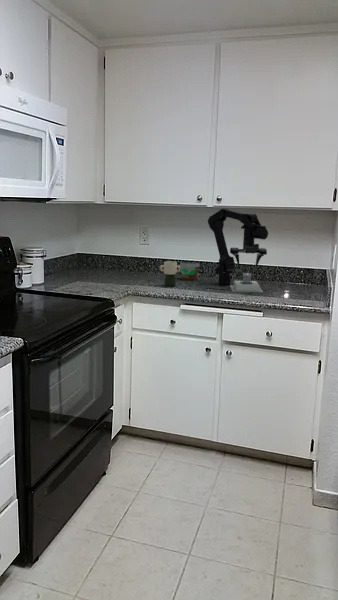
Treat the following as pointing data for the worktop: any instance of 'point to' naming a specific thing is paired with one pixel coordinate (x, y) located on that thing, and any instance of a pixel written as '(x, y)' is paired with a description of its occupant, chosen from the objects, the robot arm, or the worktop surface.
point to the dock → (246, 287)
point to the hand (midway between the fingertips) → (247, 267)
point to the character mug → (170, 272)
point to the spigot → (246, 278)
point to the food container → (189, 271)
